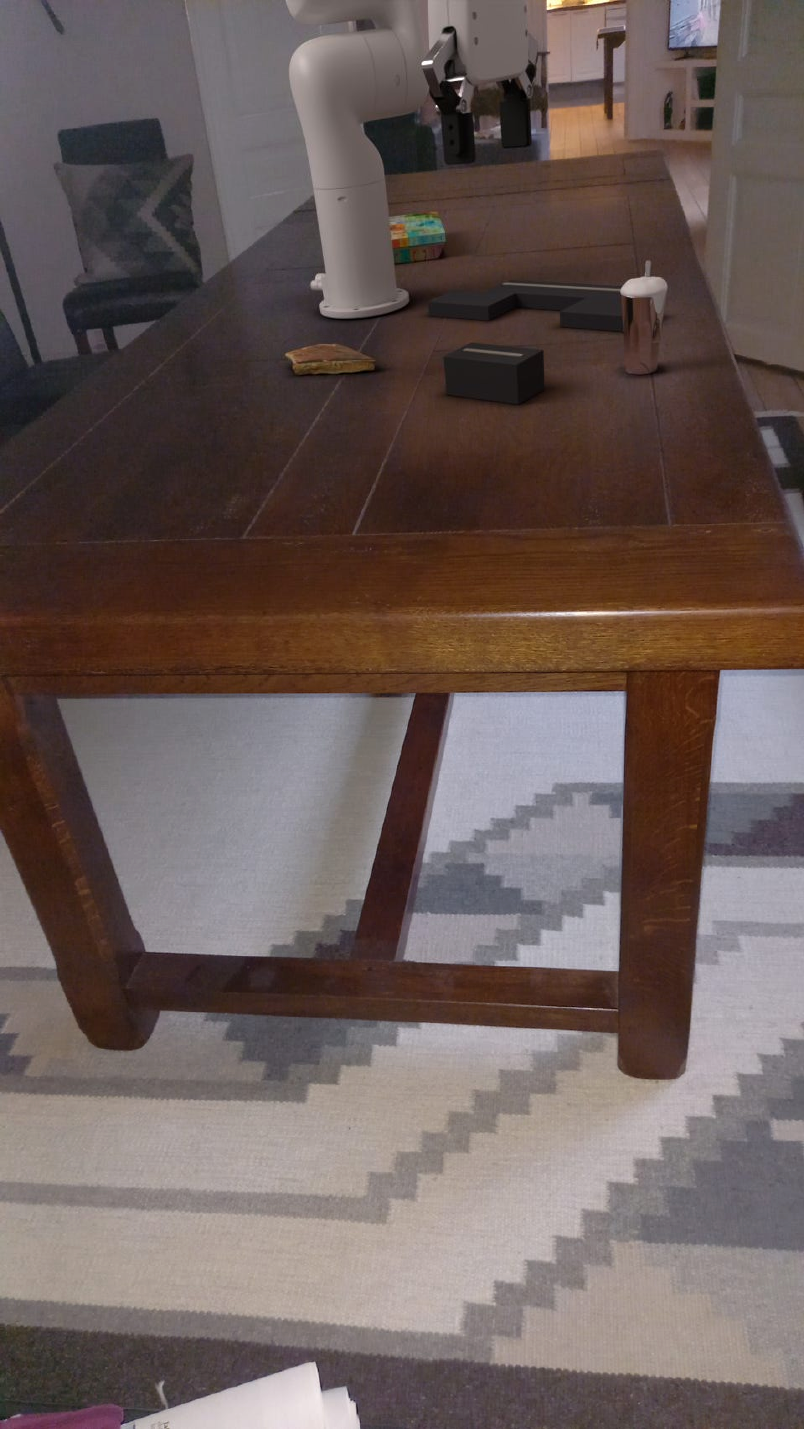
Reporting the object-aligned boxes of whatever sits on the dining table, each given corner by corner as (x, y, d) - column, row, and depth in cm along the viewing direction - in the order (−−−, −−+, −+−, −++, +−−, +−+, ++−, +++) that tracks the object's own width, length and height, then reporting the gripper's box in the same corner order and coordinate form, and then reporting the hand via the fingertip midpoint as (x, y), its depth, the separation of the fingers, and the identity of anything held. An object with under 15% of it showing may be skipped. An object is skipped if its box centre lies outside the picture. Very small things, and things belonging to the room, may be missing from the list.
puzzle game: (371, 236, 155) (370, 215, 172) (375, 267, 158) (374, 244, 174) (444, 226, 155) (437, 206, 171) (447, 258, 158) (439, 235, 174)
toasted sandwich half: (378, 372, 112) (376, 356, 111) (318, 389, 110) (316, 373, 109) (336, 354, 120) (334, 338, 119) (280, 369, 118) (277, 354, 117)
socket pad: (428, 316, 130) (427, 300, 129) (481, 291, 138) (480, 277, 136) (631, 333, 114) (632, 316, 113) (679, 304, 121) (680, 288, 120)
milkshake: (667, 360, 104) (671, 259, 98) (660, 377, 100) (665, 272, 94) (623, 361, 106) (625, 261, 100) (615, 377, 102) (617, 274, 96)
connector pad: (446, 395, 103) (442, 355, 101) (473, 380, 106) (470, 341, 104) (518, 405, 98) (516, 363, 96) (544, 389, 101) (543, 348, 99)
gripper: (494, -65, 92) (505, 144, 102) (379, -61, 81) (404, 172, 91) (564, -80, 88) (569, 139, 97) (452, -77, 77) (470, 169, 87)
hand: (489, 155), depth 94 cm, fingers open, 9 cm apart
